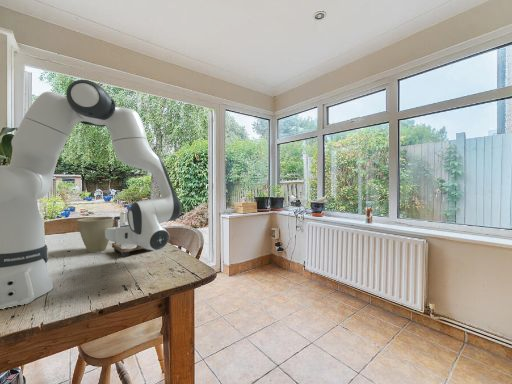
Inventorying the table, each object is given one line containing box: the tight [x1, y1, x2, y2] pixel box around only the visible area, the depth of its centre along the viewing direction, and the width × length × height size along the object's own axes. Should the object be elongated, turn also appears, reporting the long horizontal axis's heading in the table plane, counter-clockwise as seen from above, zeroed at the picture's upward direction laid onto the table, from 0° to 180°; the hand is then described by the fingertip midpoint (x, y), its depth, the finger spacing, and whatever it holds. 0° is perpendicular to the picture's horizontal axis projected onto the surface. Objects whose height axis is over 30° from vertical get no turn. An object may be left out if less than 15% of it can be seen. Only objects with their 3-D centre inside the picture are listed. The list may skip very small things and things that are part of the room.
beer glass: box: [119, 211, 137, 249], centre depth 98 cm, size 7×7×15 cm
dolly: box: [111, 215, 154, 258], centre depth 113 cm, size 16×13×17 cm
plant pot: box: [76, 216, 115, 253], centre depth 115 cm, size 15×15×16 cm
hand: (128, 227), depth 99 cm, fingers closed on beer glass, 7 cm apart
